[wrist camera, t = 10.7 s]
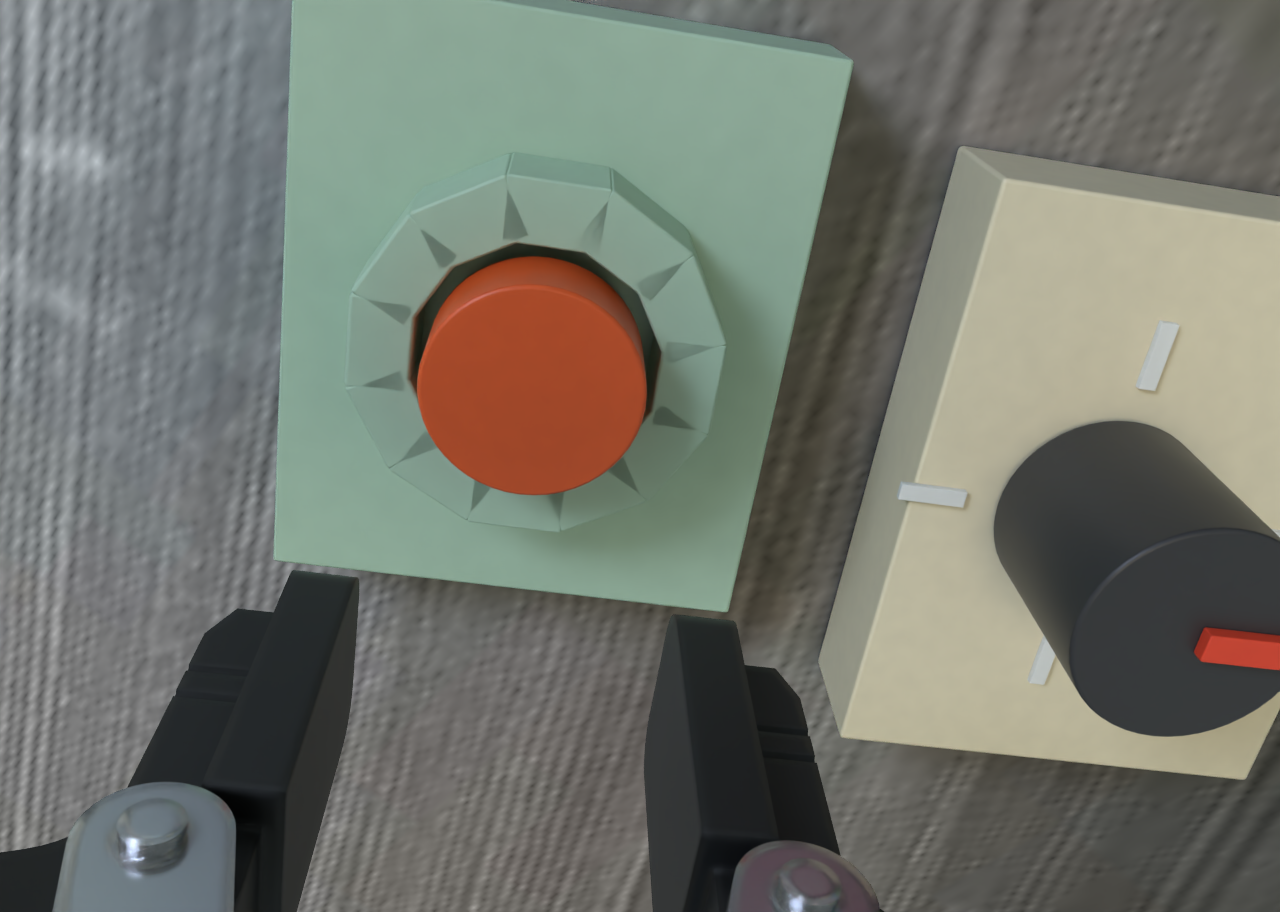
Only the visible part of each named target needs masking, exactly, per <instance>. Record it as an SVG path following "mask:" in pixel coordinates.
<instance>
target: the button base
mask: <svg viewBox="0 0 1280 912" xmlns="http://www.w3.org/2000/svg"><path fill="white" fill-rule="evenodd" d="M853 65H854V63H853V60H851V59H850V58H848V57H847V56H846V55H844V54H843V53H841V52H840V51H839V50H837V49H836V48H834V47H833V46H831V45H830V44H824V43H818V42H812V41H806V40H800V39H794V38H788V37H782V36H776V35H770V34H764V33H758V32H753V31H747V30H741V29H735V28H729V27H723V26H717V25H711V24H705V23H699V22H693V21H687V20H681V19H675V18H669V17H663V16H657V15H651V14H645V13H639V12H633V11H627V10H621V9H615V8H609V7H604V6H598V5H592V4H586V3H580V2H574V1H568V0H292V19H291V49H290V79H289V109H288V139H287V169H286V198H285V228H284V258H283V288H282V318H281V348H280V378H279V407H278V437H277V467H276V497H275V527H274V560H276V561H282V562H291V563H300V564H309V565H317V566H326V567H335V568H343V569H352V570H361V571H369V572H378V573H387V574H396V575H404V576H413V577H422V578H430V579H439V580H448V581H457V582H465V583H474V584H483V585H491V586H500V587H509V588H517V589H526V590H535V591H544V592H552V593H561V594H570V595H578V596H587V597H596V598H605V599H613V600H622V601H631V602H639V603H648V604H657V605H665V606H674V607H683V608H692V609H700V610H709V611H718V612H727V611H728V610H729V606H730V602H731V597H732V593H733V589H734V584H735V580H736V575H737V571H738V567H739V562H740V558H741V554H742V549H743V545H744V541H745V536H746V532H747V527H748V523H749V519H750V514H751V510H752V506H753V501H754V497H755V493H756V488H757V484H758V480H759V475H760V471H761V466H762V462H763V458H764V453H765V449H766V445H767V440H768V436H769V432H770V427H771V423H772V419H773V414H774V410H775V405H776V401H777V397H778V392H779V388H780V384H781V379H782V375H783V371H784V366H785V362H786V357H787V353H788V349H789V344H790V340H791V336H792V331H793V327H794V323H795V318H796V314H797V310H798V305H799V301H800V296H801V292H802V288H803V283H804V279H805V275H806V270H807V266H808V262H809V257H810V253H811V249H812V244H813V240H814V235H815V231H816V227H817V222H818V218H819V214H820V209H821V205H822V201H823V196H824V192H825V187H826V183H827V179H828V174H829V170H830V166H831V161H832V157H833V153H834V148H835V144H836V140H837V135H838V131H839V126H840V122H841V118H842V113H843V109H844V105H845V100H846V96H847V92H848V87H849V83H850V79H851V74H852V70H853ZM530 256H538V257H550V258H555V259H560V260H564V261H567V262H570V263H573V264H576V265H578V266H580V267H582V268H584V269H586V270H589V271H591V272H592V273H594V274H595V275H597V276H598V277H600V278H601V279H603V280H604V281H605V282H606V283H607V284H608V285H610V286H611V287H612V288H613V289H614V290H615V291H616V292H617V294H618V295H619V296H620V297H621V298H622V299H623V301H624V302H625V304H626V305H627V307H628V308H629V310H630V311H631V313H632V315H633V317H634V319H635V322H636V324H637V327H638V330H639V333H640V336H641V342H642V348H643V355H644V364H645V372H646V381H647V400H646V409H645V413H644V417H643V421H642V424H641V426H640V429H639V431H638V434H637V436H636V437H635V439H634V441H633V443H632V444H631V446H630V447H629V449H628V450H627V451H626V453H625V454H624V455H623V456H622V458H621V459H620V460H619V461H618V462H617V463H616V464H615V465H613V466H612V467H611V468H610V469H609V470H607V471H606V472H605V473H603V474H602V475H601V476H599V477H597V478H596V479H594V480H592V481H591V482H589V483H587V484H584V485H582V486H580V487H577V488H575V489H571V490H568V491H565V492H561V493H555V494H549V495H520V494H514V493H509V492H504V491H501V490H497V489H494V488H491V487H489V486H486V485H484V484H482V483H480V482H478V481H476V480H474V479H472V478H471V477H469V476H467V475H466V474H464V473H463V472H462V471H460V470H459V469H458V468H457V467H455V466H454V465H453V464H452V463H451V462H450V461H449V460H448V459H447V458H446V457H445V456H444V455H443V454H442V452H441V451H440V450H439V449H438V447H437V446H436V445H435V443H434V442H433V440H432V438H431V437H430V435H429V433H428V431H427V429H426V426H425V424H424V422H423V419H422V416H421V412H420V408H419V403H418V395H417V377H418V371H419V365H420V362H421V358H422V355H423V352H424V349H425V346H426V343H427V340H428V337H429V334H430V331H431V328H432V326H433V323H434V320H435V318H436V316H437V314H438V311H439V309H440V307H441V306H442V304H443V303H444V301H445V300H446V298H447V297H448V296H449V295H450V294H451V292H452V291H453V290H454V289H455V288H456V287H457V286H458V285H459V284H460V283H461V282H463V281H464V280H465V279H466V278H467V277H469V276H470V275H472V274H474V273H475V272H477V271H478V270H480V269H482V268H484V267H487V266H489V265H491V264H493V263H496V262H500V261H503V260H506V259H512V258H517V257H530Z"/></svg>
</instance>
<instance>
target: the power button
mask: <svg viewBox="0 0 1280 912" xmlns="http://www.w3.org/2000/svg"><path fill="white" fill-rule="evenodd" d="M417 395H418V403H419V408H420V412H421V416H422V419H423V422H424V424H425V426H426V429H427V431H428V433H429V435H430V437H431V438H432V440H433V442H434V443H435V445H436V446H437V447H438V449H439V450H440V451H441V452H442V454H443V455H444V456H445V457H446V458H447V459H448V460H449V461H450V462H451V463H452V464H453V465H454V466H455V467H457V468H458V469H459V470H460V471H462V472H463V473H464V474H466V475H467V476H469V477H471V478H472V479H474V480H476V481H478V482H480V483H482V484H484V485H486V486H489V487H491V488H494V489H497V490H501V491H504V492H509V493H514V494H520V495H549V494H555V493H561V492H565V491H568V490H571V489H575V488H577V487H580V486H582V485H584V484H587V483H589V482H591V481H592V480H594V479H596V478H597V477H599V476H601V475H602V474H603V473H605V472H606V471H607V470H609V469H610V468H611V467H612V466H613V465H615V464H616V463H617V462H618V461H619V460H620V459H621V458H622V456H623V455H624V454H625V453H626V451H627V450H628V449H629V447H630V446H631V444H632V443H633V441H634V439H635V437H636V436H637V434H638V431H639V429H640V426H641V424H642V421H643V417H644V413H645V409H646V400H647V381H646V372H645V364H644V355H643V348H642V342H641V336H640V333H639V330H638V327H637V324H636V322H635V319H634V317H633V315H632V313H631V311H630V310H629V308H628V307H627V305H626V304H625V302H624V301H623V299H622V298H621V297H620V296H619V295H618V294H617V292H616V291H615V290H614V289H613V288H612V287H611V286H610V285H608V284H607V283H606V282H605V281H604V280H603V279H601V278H600V277H598V276H597V275H595V274H594V273H592V272H591V271H589V270H586V269H584V268H582V267H580V266H578V265H576V264H573V263H570V262H567V261H564V260H560V259H555V258H550V257H538V256H530V257H517V258H512V259H506V260H503V261H500V262H496V263H493V264H491V265H489V266H487V267H484V268H482V269H480V270H478V271H477V272H475V273H474V274H472V275H470V276H469V277H467V278H466V279H465V280H464V281H463V282H461V283H460V284H459V285H458V286H457V287H456V288H455V289H454V290H453V291H452V292H451V294H450V295H449V296H448V297H447V298H446V300H445V301H444V303H443V304H442V306H441V307H440V309H439V311H438V314H437V316H436V318H435V320H434V323H433V326H432V328H431V331H430V334H429V337H428V340H427V343H426V346H425V349H424V352H423V355H422V358H421V362H420V365H419V371H418V377H417Z"/></svg>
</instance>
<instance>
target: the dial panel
mask: <svg viewBox="0 0 1280 912" xmlns="http://www.w3.org/2000/svg"><path fill="white" fill-rule="evenodd" d="M1105 421H1130V422H1137V423H1143V424H1147V425H1150V426H1153V427H1156V428H1159V429H1161V430H1163V431H1165V432H1167V433H1169V434H1171V435H1172V436H1173V437H1175V438H1176V439H1177V440H1179V441H1180V442H1181V443H1182V444H1183V445H1184V446H1185V447H1186V448H1187V449H1188V450H1190V451H1191V452H1192V453H1193V454H1194V455H1195V456H1196V457H1197V458H1198V459H1199V460H1200V461H1201V462H1202V463H1203V464H1204V465H1205V466H1206V467H1207V468H1208V469H1209V470H1210V471H1211V472H1212V473H1213V474H1214V475H1216V476H1217V477H1218V478H1219V479H1220V480H1221V481H1222V482H1223V483H1224V484H1225V485H1226V486H1227V487H1228V488H1229V489H1230V490H1231V491H1232V492H1233V493H1234V494H1235V495H1236V496H1237V497H1238V498H1239V499H1241V500H1242V501H1243V502H1244V503H1245V504H1246V505H1247V506H1248V507H1249V508H1250V509H1251V510H1252V511H1253V512H1254V513H1255V514H1256V515H1257V516H1258V517H1259V518H1260V519H1261V520H1262V521H1263V522H1264V523H1266V524H1267V525H1268V526H1269V527H1270V528H1271V529H1272V530H1273V531H1274V532H1275V533H1276V534H1277V535H1278V536H1279V537H1280V197H1279V196H1273V195H1267V194H1260V193H1254V192H1248V191H1242V190H1235V189H1229V188H1223V187H1217V186H1210V185H1204V184H1198V183H1192V182H1186V181H1179V180H1173V179H1167V178H1161V177H1154V176H1148V175H1142V174H1136V173H1129V172H1123V171H1117V170H1111V169H1105V168H1098V167H1092V166H1086V165H1080V164H1073V163H1067V162H1061V161H1055V160H1048V159H1042V158H1036V157H1030V156H1024V155H1017V154H1011V153H1005V152H999V151H992V150H986V149H980V148H974V147H967V146H962V147H960V148H959V149H958V152H957V156H956V160H955V163H954V167H953V171H952V174H951V178H950V182H949V185H948V189H947V192H946V196H945V200H944V203H943V207H942V211H941V214H940V218H939V222H938V225H937V229H936V233H935V236H934V240H933V244H932V247H931V251H930V255H929V258H928V262H927V266H926V269H925V273H924V276H923V280H922V284H921V287H920V291H919V295H918V298H917V302H916V306H915V309H914V313H913V317H912V320H911V324H910V328H909V331H908V335H907V339H906V342H905V346H904V350H903V353H902V357H901V360H900V364H899V368H898V371H897V375H896V379H895V382H894V386H893V390H892V393H891V397H890V401H889V404H888V408H887V412H886V415H885V419H884V423H883V426H882V430H881V433H880V437H879V441H878V444H877V448H876V452H875V455H874V459H873V463H872V466H871V470H870V474H869V477H868V481H867V485H866V488H865V492H864V496H863V499H862V503H861V507H860V510H859V514H858V517H857V521H856V525H855V528H854V532H853V536H852V539H851V543H850V547H849V550H848V554H847V558H846V561H845V565H844V569H843V572H842V576H841V580H840V583H839V587H838V591H837V594H836V598H835V601H834V605H833V609H832V612H831V616H830V620H829V623H828V627H827V631H826V634H825V638H824V642H823V645H822V649H821V653H820V656H819V660H818V662H819V666H820V669H821V672H822V676H823V679H824V683H825V686H826V689H827V693H828V696H829V700H830V703H831V706H832V710H833V713H834V717H835V720H836V724H837V727H838V730H839V734H840V736H841V737H842V738H849V739H858V740H868V741H878V742H887V743H897V744H906V745H916V746H925V747H935V748H944V749H954V750H964V751H973V752H983V753H992V754H1002V755H1011V756H1021V757H1030V758H1040V759H1050V760H1059V761H1069V762H1078V763H1088V764H1097V765H1107V766H1116V767H1126V768H1136V769H1145V770H1155V771H1164V772H1174V773H1183V774H1193V775H1202V776H1212V777H1222V778H1231V779H1241V780H1244V779H1246V778H1247V776H1248V773H1249V771H1250V769H1251V767H1252V765H1253V763H1254V761H1255V759H1256V757H1257V755H1258V753H1259V751H1260V749H1261V747H1262V745H1263V743H1264V741H1265V739H1266V736H1267V734H1268V732H1269V730H1270V728H1271V726H1272V724H1273V722H1274V720H1275V718H1276V716H1277V714H1278V712H1279V710H1280V692H1279V693H1277V694H1276V695H1275V696H1274V697H1273V698H1272V699H1271V700H1269V701H1268V702H1266V703H1265V704H1264V705H1262V706H1261V707H1260V708H1258V709H1257V710H1255V711H1253V712H1252V713H1250V714H1248V715H1247V716H1245V717H1243V718H1241V719H1239V720H1237V721H1234V722H1232V723H1230V724H1228V725H1225V726H1222V727H1219V728H1217V729H1214V730H1210V731H1206V732H1202V733H1198V734H1192V735H1186V736H1174V737H1160V736H1149V735H1143V734H1138V733H1134V732H1131V731H1127V730H1124V729H1122V728H1120V727H1117V726H1115V725H1113V724H1111V723H1109V722H1108V721H1106V720H1105V719H1103V718H1101V717H1100V716H1099V715H1097V714H1096V713H1095V712H1094V711H1093V710H1092V709H1090V708H1089V706H1088V705H1087V704H1086V703H1085V702H1084V701H1083V699H1082V698H1081V696H1080V695H1079V693H1078V691H1077V690H1076V688H1075V686H1074V685H1073V683H1072V681H1071V680H1070V678H1069V676H1068V675H1067V673H1066V671H1065V670H1064V668H1063V666H1062V665H1061V663H1060V661H1059V660H1058V658H1057V656H1056V655H1055V653H1054V651H1053V650H1052V648H1051V646H1050V645H1049V643H1048V641H1047V640H1046V638H1045V636H1044V635H1043V633H1042V631H1041V630H1040V628H1039V626H1038V625H1037V623H1036V621H1035V620H1034V618H1033V616H1032V615H1031V613H1030V611H1029V609H1028V608H1027V606H1026V604H1025V603H1024V601H1023V599H1022V598H1021V596H1020V594H1019V593H1018V591H1017V589H1016V588H1015V586H1014V584H1013V583H1012V581H1011V579H1010V578H1009V576H1008V574H1007V573H1006V571H1005V569H1004V568H1003V566H1002V564H1001V562H1000V560H999V557H998V555H997V552H996V547H995V543H994V520H995V514H996V510H997V506H998V502H999V500H1000V497H1001V495H1002V492H1003V490H1004V489H1005V487H1006V485H1007V483H1008V481H1009V480H1010V478H1011V477H1012V475H1013V474H1014V473H1015V471H1016V470H1017V469H1018V468H1019V466H1020V465H1021V464H1022V463H1023V462H1024V461H1025V460H1026V459H1027V458H1028V457H1029V456H1030V455H1031V454H1033V453H1034V452H1035V451H1036V450H1037V449H1038V448H1040V447H1041V446H1043V445H1044V444H1046V443H1047V442H1049V441H1050V440H1052V439H1054V438H1056V437H1057V436H1059V435H1061V434H1063V433H1065V432H1068V431H1070V430H1073V429H1075V428H1078V427H1081V426H1085V425H1088V424H1093V423H1099V422H1105Z"/></svg>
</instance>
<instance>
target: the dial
mask: <svg viewBox="0 0 1280 912" xmlns="http://www.w3.org/2000/svg"><path fill="white" fill-rule="evenodd" d="M994 543H995V547H996V552H997V555H998V557H999V560H1000V562H1001V564H1002V566H1003V568H1004V569H1005V571H1006V573H1007V574H1008V576H1009V578H1010V579H1011V581H1012V583H1013V584H1014V586H1015V588H1016V589H1017V591H1018V593H1019V594H1020V596H1021V598H1022V599H1023V601H1024V603H1025V604H1026V606H1027V608H1028V609H1029V611H1030V613H1031V615H1032V616H1033V618H1034V620H1035V621H1036V623H1037V625H1038V626H1039V628H1040V630H1041V631H1042V633H1043V635H1044V636H1045V638H1046V640H1047V641H1048V643H1049V645H1050V646H1051V648H1052V650H1053V651H1054V653H1055V655H1056V656H1057V658H1058V660H1059V661H1060V663H1061V665H1062V666H1063V668H1064V670H1065V671H1066V673H1067V675H1068V676H1069V678H1070V680H1071V681H1072V683H1073V685H1074V686H1075V688H1076V690H1077V691H1078V693H1079V695H1080V696H1081V698H1082V699H1083V701H1084V702H1085V703H1086V704H1087V705H1088V706H1089V708H1090V709H1092V710H1093V711H1094V712H1095V713H1096V714H1097V715H1099V716H1100V717H1101V718H1103V719H1105V720H1106V721H1108V722H1109V723H1111V724H1113V725H1115V726H1117V727H1120V728H1122V729H1124V730H1127V731H1131V732H1134V733H1138V734H1143V735H1149V736H1160V737H1174V736H1186V735H1192V734H1198V733H1202V732H1206V731H1210V730H1214V729H1217V728H1219V727H1222V726H1225V725H1228V724H1230V723H1232V722H1234V721H1237V720H1239V719H1241V718H1243V717H1245V716H1247V715H1248V714H1250V713H1252V712H1253V711H1255V710H1257V709H1258V708H1260V707H1261V706H1262V705H1264V704H1265V703H1266V702H1268V701H1269V700H1271V699H1272V698H1273V697H1274V696H1275V695H1276V694H1277V693H1279V692H1280V537H1279V536H1278V535H1277V534H1276V533H1275V532H1274V531H1273V530H1272V529H1271V528H1270V527H1269V526H1268V525H1267V524H1266V523H1264V522H1263V521H1262V520H1261V519H1260V518H1259V517H1258V516H1257V515H1256V514H1255V513H1254V512H1253V511H1252V510H1251V509H1250V508H1249V507H1248V506H1247V505H1246V504H1245V503H1244V502H1243V501H1242V500H1241V499H1239V498H1238V497H1237V496H1236V495H1235V494H1234V493H1233V492H1232V491H1231V490H1230V489H1229V488H1228V487H1227V486H1226V485H1225V484H1224V483H1223V482H1222V481H1221V480H1220V479H1219V478H1218V477H1217V476H1216V475H1214V474H1213V473H1212V472H1211V471H1210V470H1209V469H1208V468H1207V467H1206V466H1205V465H1204V464H1203V463H1202V462H1201V461H1200V460H1199V459H1198V458H1197V457H1196V456H1195V455H1194V454H1193V453H1192V452H1191V451H1190V450H1188V449H1187V448H1186V447H1185V446H1184V445H1183V444H1182V443H1181V442H1180V441H1179V440H1177V439H1176V438H1175V437H1173V436H1172V435H1171V434H1169V433H1167V432H1165V431H1163V430H1161V429H1159V428H1156V427H1153V426H1150V425H1147V424H1143V423H1137V422H1130V421H1105V422H1099V423H1093V424H1088V425H1085V426H1081V427H1078V428H1075V429H1073V430H1070V431H1068V432H1065V433H1063V434H1061V435H1059V436H1057V437H1056V438H1054V439H1052V440H1050V441H1049V442H1047V443H1046V444H1044V445H1043V446H1041V447H1040V448H1038V449H1037V450H1036V451H1035V452H1034V453H1033V454H1031V455H1030V456H1029V457H1028V458H1027V459H1026V460H1025V461H1024V462H1023V463H1022V464H1021V465H1020V466H1019V468H1018V469H1017V470H1016V471H1015V473H1014V474H1013V475H1012V477H1011V478H1010V480H1009V481H1008V483H1007V485H1006V487H1005V489H1004V490H1003V492H1002V495H1001V497H1000V500H999V502H998V506H997V510H996V514H995V520H994Z"/></svg>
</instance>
